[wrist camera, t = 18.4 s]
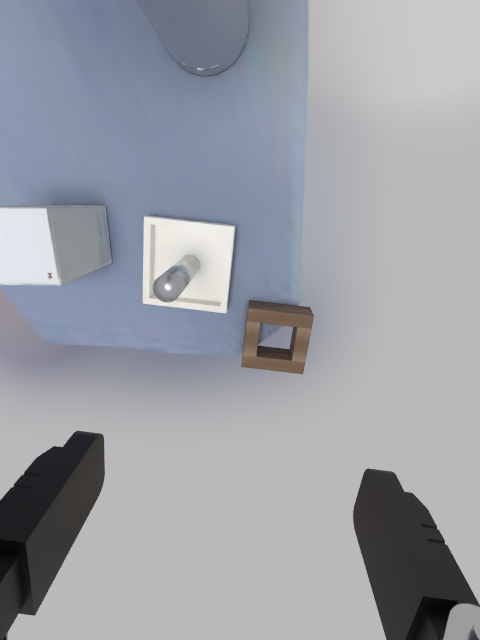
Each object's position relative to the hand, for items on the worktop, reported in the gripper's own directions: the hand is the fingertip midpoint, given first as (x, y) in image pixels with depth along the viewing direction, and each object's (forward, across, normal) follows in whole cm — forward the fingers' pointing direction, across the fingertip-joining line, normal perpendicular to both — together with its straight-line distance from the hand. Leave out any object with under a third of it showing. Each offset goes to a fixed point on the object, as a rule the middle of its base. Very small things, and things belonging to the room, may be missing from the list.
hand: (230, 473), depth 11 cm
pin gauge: (+35, +8, +1) cm, 36 cm away
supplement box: (+36, +22, -1) cm, 42 cm away
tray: (+36, +8, +1) cm, 37 cm away
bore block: (+36, -4, +9) cm, 37 cm away
